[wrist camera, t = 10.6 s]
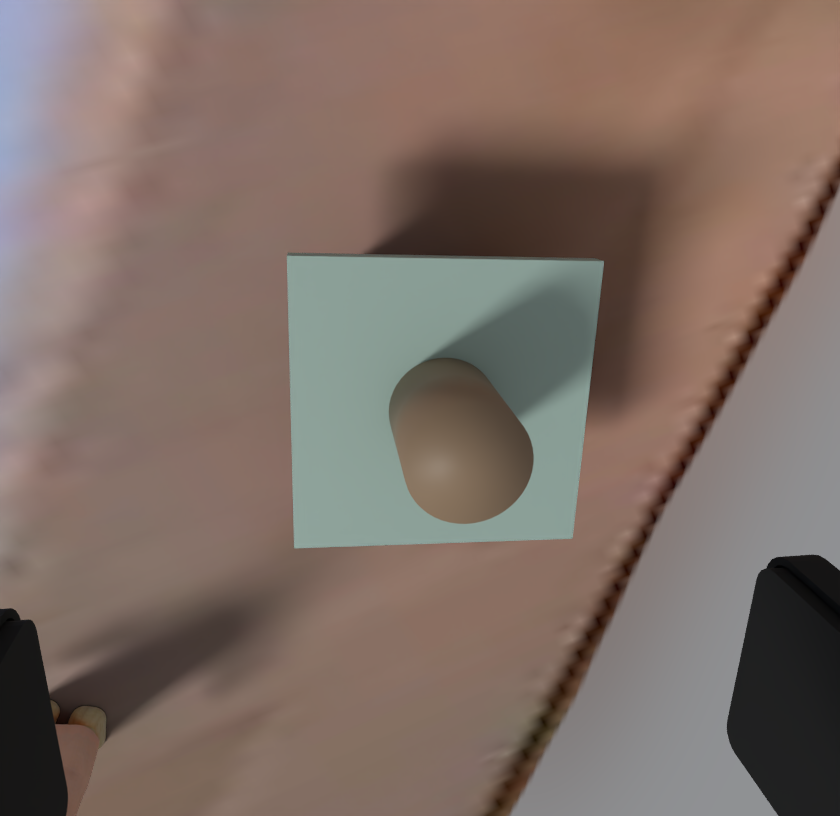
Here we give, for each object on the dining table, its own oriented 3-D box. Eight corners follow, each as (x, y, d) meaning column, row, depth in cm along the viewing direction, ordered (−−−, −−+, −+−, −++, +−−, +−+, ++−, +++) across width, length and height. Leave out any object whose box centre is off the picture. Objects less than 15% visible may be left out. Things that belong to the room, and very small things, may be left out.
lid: (287, 252, 25) (279, 279, 20) (596, 258, 26) (667, 285, 21) (295, 538, 29) (289, 628, 23) (566, 528, 30) (620, 611, 25)
